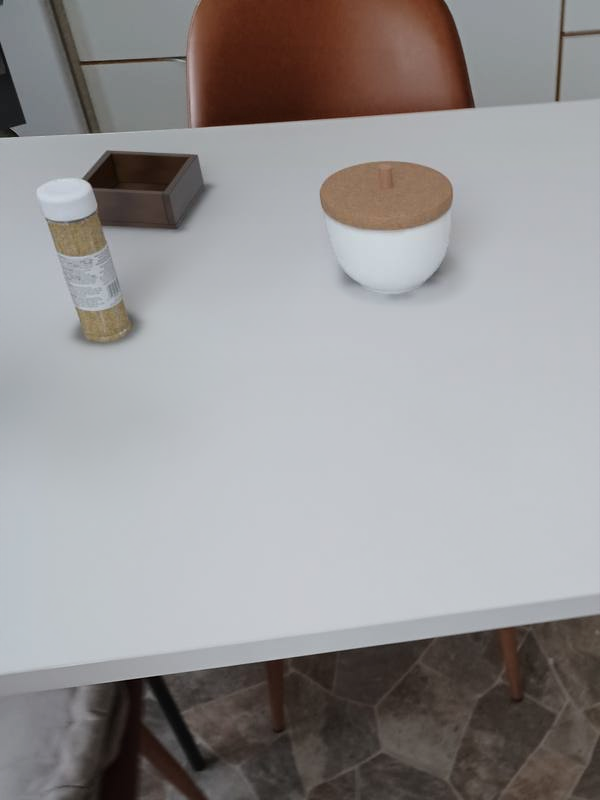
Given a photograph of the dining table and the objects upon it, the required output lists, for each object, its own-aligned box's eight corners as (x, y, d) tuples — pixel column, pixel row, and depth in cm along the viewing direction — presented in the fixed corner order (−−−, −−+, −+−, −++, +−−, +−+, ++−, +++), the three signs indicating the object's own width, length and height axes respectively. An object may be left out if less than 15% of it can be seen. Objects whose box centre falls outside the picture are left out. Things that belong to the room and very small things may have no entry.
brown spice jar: (104, 315, 92) (59, 171, 82) (143, 326, 91) (102, 181, 81) (72, 338, 90) (22, 192, 80) (112, 349, 88) (66, 202, 78)
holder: (82, 227, 105) (71, 190, 102) (116, 185, 112) (106, 150, 109) (177, 232, 104) (169, 194, 101) (205, 190, 111) (198, 154, 108)
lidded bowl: (309, 298, 95) (294, 185, 87) (357, 242, 103) (348, 132, 95) (430, 319, 92) (426, 204, 84) (469, 259, 100) (469, 149, 92)
